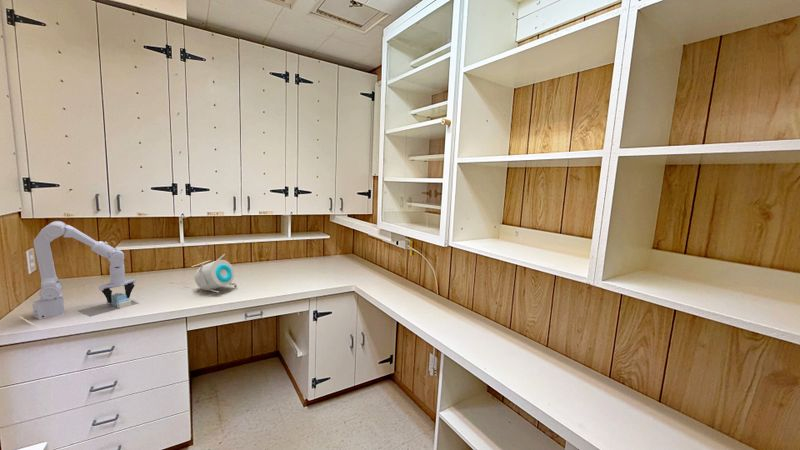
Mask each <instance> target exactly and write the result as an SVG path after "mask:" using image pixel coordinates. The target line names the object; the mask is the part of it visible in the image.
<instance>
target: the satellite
mask: <svg viewBox="0 0 800 450" xmlns="http://www.w3.org/2000/svg"><path fill="white" fill-rule="evenodd" d="M224 257H225V253H223V254H222V255H221V256H220V257H219V258H217V260H215V261H212V260H211V259H209V260H206V261H203V262H200V263H198V264H195V265H192V266H191V267H196V266H199V265H200V267H199V268H198V269H197V270H196V272H195V274H194V281H195V284H196V285H197V286H198V288H200V289H202V290H203V291H210V292H215V293H212V294H208V296H211V295H215V294H217V293H220V292H221V290H216V289H219V288H222V287H226V286H237V285H238V283H237V282H233V281H234V278H235V270H234V267H233V265H232V264H231V262H229V261H227V260H225V259H222V258H224ZM211 261H212V262H211ZM206 263H207V264H206ZM232 282H233V283H232ZM208 296H207V297H208Z"/></svg>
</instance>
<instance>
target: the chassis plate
mask: <svg viewBox="0 0 800 450" xmlns="http://www.w3.org/2000/svg"><path fill="white" fill-rule="evenodd" d="M137 304H138V305H139V304H140V302H138V301H134V300H132V299H129V301H125V302H121V303H117V306H114V305H112V304H111V303H108V301H107V300H106V303H102V304H98V305H95V306H90V307H87V308H83V309H80V310H77V312H78V313H80V314H81V313H82V314H83V315H86V316H88V317H94V316H99V315H101V314H105V313H109V312H112V311H115V310H120V309H123V308H127V307H131V306H135V305H137Z"/></svg>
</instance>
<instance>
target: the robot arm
mask: <svg viewBox="0 0 800 450" xmlns="http://www.w3.org/2000/svg"><path fill="white" fill-rule="evenodd" d="M60 237H63V238H72V239H75V240H76V241H79V242H80V243H82V244H85V245H87V246H89V247H90V248H91V251H92V252H94V253H95V254H97V255H99V256H101V257H102V258H105V259H108V261H109V281H110V283H109V282H108V283H106V284H103V285H99V286H98V290H99V291H101V292H102V294H103V295H104V296H105V298H106V302H107V301H108V303H112V299H111V295H112V294H113V289H114V288H117V287H122V286H123V287H124V291H125V293H124V294H125V295H127V299H130V297H131V293H132V292H133V289H134V287H135V284H136V283H137V281H136V279H134V278H132V279H126V269H125V253H124V252H123V251H122V250H121V249H119V248H117V247H115V248H114V247H113V246H111V245H110V244H108V242H107V241H102V240H100V241H97V240H95V239H93V238H92V237H90V236H88V235H87V234H85V233H84V232H82V231H80V230H79V229H77V228H75V227H74V226H72V225H69V224H66V223H65V222H64V221H62V220H61V221H60V220H55V221H52V222H50V223H48V224H47V225H46V226H44V227H43V228H41V230H40V231H39V233H38V234H37V235H36V237H35V238H34V239H33V246H34V247H33V248H34V251H35V255H36V262H37V265H38V270H39V275H40V280H41V282H40V288H41V289H40V291H39V296H40V298H39V299H37V300H35V301H33V302H32V312H33V313H32V314H33V317H34V318H36V319H38V321H39V320H44V319H47V318H52V317H57V316H61V315H63V314H64V313H65V301H64V294H63V293H62V292H61V291H62V290H63V288H64V287H63V284H62V283H61V282H60V280H59V278H58V276H57V272H56V268H55V261H54V257H53V251H52V248H51V243H52V242H53V241H54V240H55V239H58V238H60ZM111 289H112V290H111Z"/></svg>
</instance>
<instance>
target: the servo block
mask: <svg viewBox="0 0 800 450" xmlns="http://www.w3.org/2000/svg"><path fill="white" fill-rule="evenodd" d="M111 299H112V303H111V304H112V305H114V306H117V303H121V302H125V301H129V300H130V298H127V295H125V293H122V292H115V293H112V295H111Z"/></svg>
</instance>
